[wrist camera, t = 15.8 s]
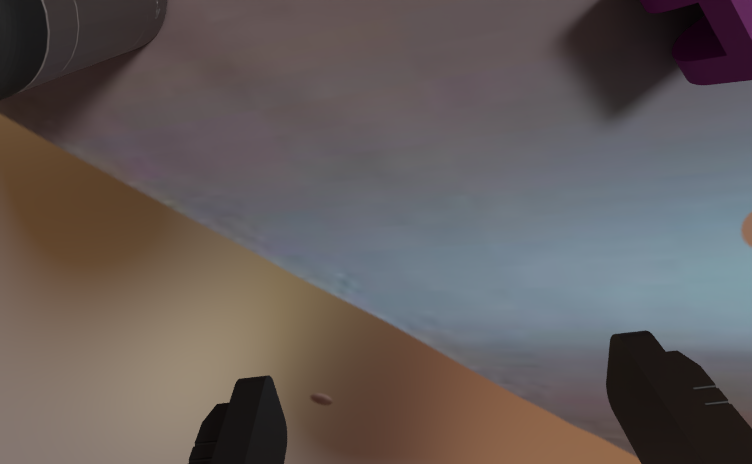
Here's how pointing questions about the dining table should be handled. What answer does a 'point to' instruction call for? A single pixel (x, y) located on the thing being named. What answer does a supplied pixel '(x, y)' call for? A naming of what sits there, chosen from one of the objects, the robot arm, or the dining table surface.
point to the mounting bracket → (713, 40)
